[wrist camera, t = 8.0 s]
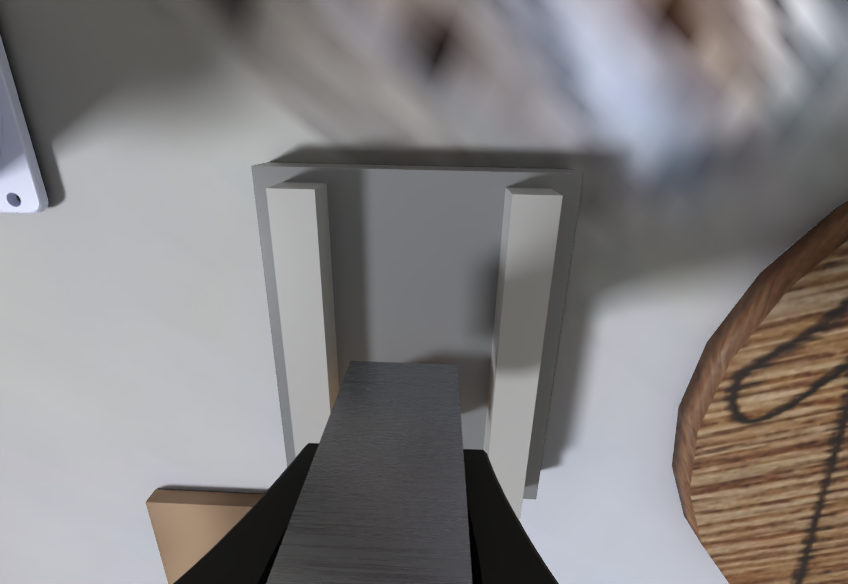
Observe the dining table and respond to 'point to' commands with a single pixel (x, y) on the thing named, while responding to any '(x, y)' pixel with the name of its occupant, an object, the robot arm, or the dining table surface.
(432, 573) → the brushed metal block
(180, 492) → the cork coaster
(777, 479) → the trivet
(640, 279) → the dining table surface
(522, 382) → the box
